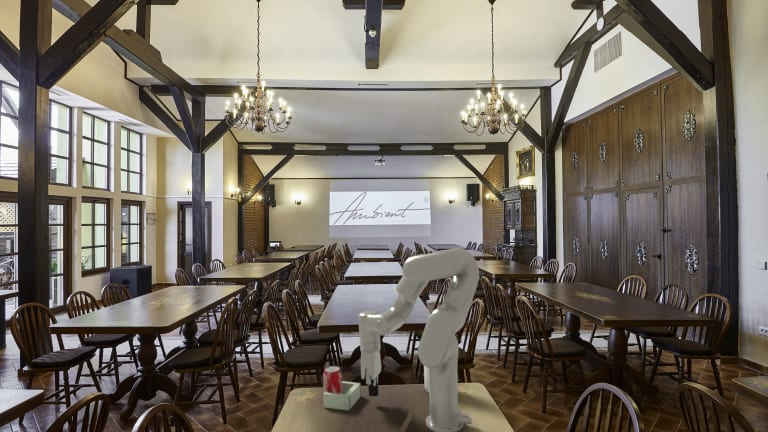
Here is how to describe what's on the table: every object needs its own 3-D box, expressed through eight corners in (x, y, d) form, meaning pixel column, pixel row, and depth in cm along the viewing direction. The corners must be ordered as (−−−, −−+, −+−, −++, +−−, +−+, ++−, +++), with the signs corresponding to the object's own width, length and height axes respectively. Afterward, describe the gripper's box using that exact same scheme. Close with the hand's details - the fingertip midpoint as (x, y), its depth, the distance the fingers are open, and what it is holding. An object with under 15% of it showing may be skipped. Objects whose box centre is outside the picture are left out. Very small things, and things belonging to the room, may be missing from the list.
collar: (361, 396, 158) (360, 383, 158) (348, 410, 147) (348, 396, 147) (337, 393, 162) (336, 380, 162) (323, 407, 150) (323, 393, 150)
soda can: (339, 405, 151) (338, 372, 151) (321, 404, 153) (320, 371, 153) (344, 396, 158) (343, 365, 158) (327, 395, 160) (326, 364, 160)
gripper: (367, 339, 160) (371, 386, 160) (353, 351, 146) (357, 403, 145) (385, 339, 158) (389, 387, 157) (373, 352, 143) (377, 405, 143)
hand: (373, 395), depth 151 cm, fingers closed
